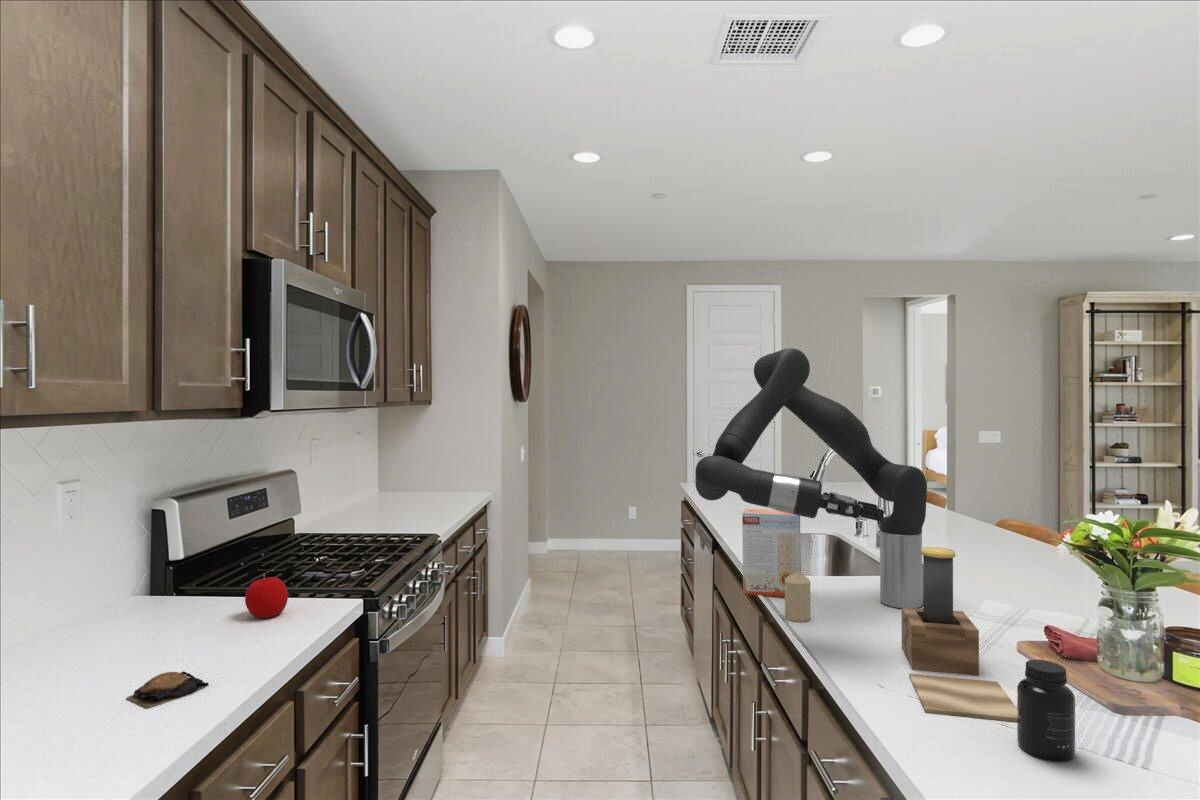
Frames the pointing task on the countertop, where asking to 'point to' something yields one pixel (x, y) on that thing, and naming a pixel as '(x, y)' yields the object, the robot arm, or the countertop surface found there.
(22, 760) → the countertop surface
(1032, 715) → the supplement bottle
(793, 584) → the candle
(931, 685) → the cork mat
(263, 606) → the fruit
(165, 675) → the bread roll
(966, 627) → the socket block
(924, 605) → the plug
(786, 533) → the cracker box
